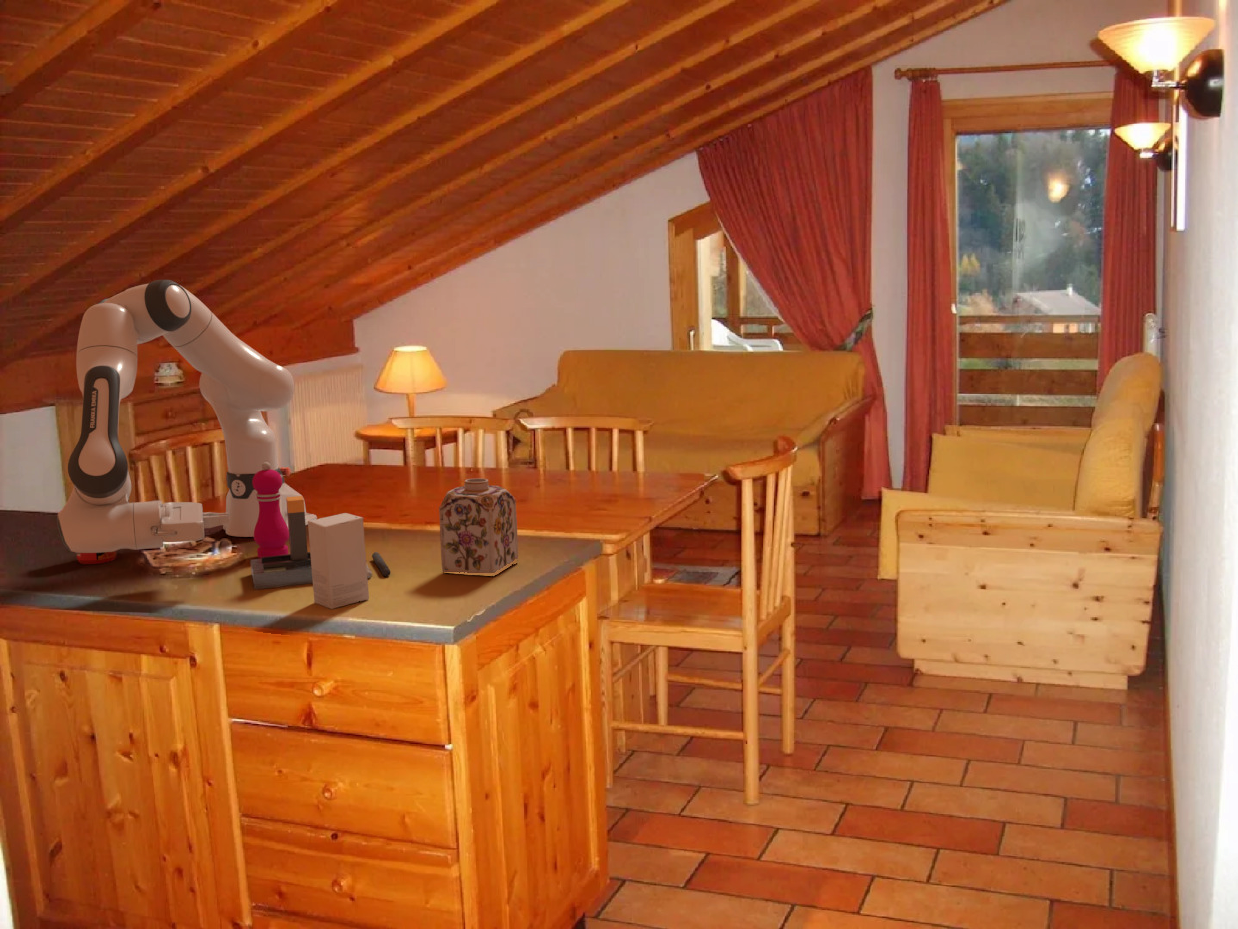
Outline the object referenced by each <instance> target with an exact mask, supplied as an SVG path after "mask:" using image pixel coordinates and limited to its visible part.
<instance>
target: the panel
mask: <svg viewBox="0 0 1238 929" xmlns="http://www.w3.org/2000/svg"><path fill="white" fill-rule="evenodd" d="M307 552H308V559H302V560H292V561H291V555H290V553H288V554H286V555H276V556H266V557H261V558H256V559H254V558H253V559H250V571H251V579H252V583H253V587H254V590H261V589H263V590H265V589H272V588H280V587H281V588H282V587H290V586H297V585H298V586H300V585H307V584H313V579H312V567H311V554H310V551H307Z"/></svg>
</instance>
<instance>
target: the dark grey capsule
mask: <svg viewBox="0 0 1238 929" xmlns="http://www.w3.org/2000/svg"><path fill="white" fill-rule="evenodd" d="M371 558H372V559H373V561H374V563H375V565H376V566H377V567H378V570H380V572H381V574H382V576H384V577H389V576H390V575H391V572H392V571H391V570H390V568H389V566H388V564H387V563H386V562H385V560H384V559H383V557H382V556H381V554H380V552H377V551H375V552H373V553H372V555H371ZM366 567H367V579H371V577H372V576H373V572H372V571H371V569H370V567H369V566H368V563H366Z"/></svg>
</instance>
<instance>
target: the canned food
mask: <svg viewBox="0 0 1238 929" xmlns="http://www.w3.org/2000/svg"><path fill="white" fill-rule="evenodd" d="M75 553H76V560H77V561H78V563H79V564H82V565H99V564H105V562H106V563H109V561H110V562H112V561H114V560H115V559H116V558H117V550H116V551H113V552H102V553H77V552H75Z"/></svg>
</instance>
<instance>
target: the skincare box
mask: <svg viewBox="0 0 1238 929" xmlns="http://www.w3.org/2000/svg"><path fill="white" fill-rule="evenodd" d="M307 528H308V529H307V530H308V540H309V552H310V554H311V567H312V579H313V583H312V589H313V599H314V600H313V602H314V603H315V604H317V605H320V606H323V607H324V608H328V609H330V610H334V609H337V608H340V607H345V606H347V605H351V604H355V603H360V602H364V601H367V600H369V599H370V595H369V594H370V593H369V582H368V578H367V567H366V564H367V556H366V544H365V543H366V542H365V541H366V540H365V529H364V528H365V527H364V517H362V516H358V515H354V514H352V513H348V512H343V513H339V514H334V515H330V516H326V517H325V516H324V517H321V518H317V519H315V520H310V521H308V524H307ZM359 601H360V602H359Z"/></svg>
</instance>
